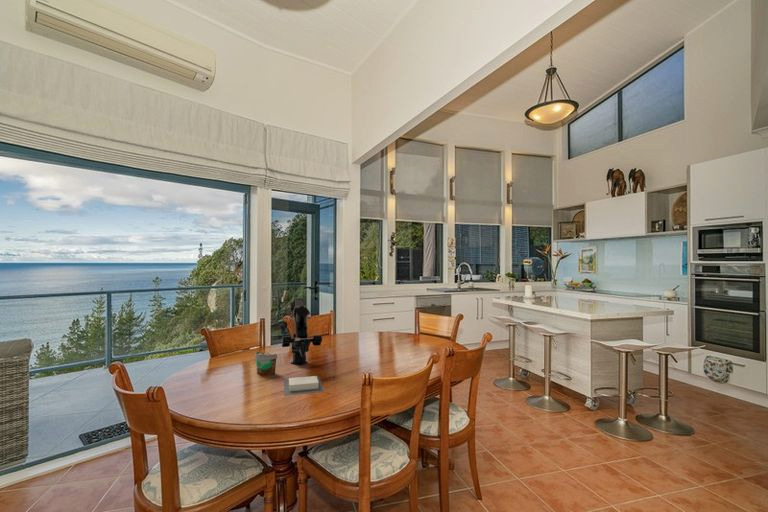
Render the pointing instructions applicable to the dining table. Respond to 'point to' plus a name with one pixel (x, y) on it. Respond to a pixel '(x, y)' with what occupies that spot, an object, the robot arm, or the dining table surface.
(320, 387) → the mat
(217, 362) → the dining table surface
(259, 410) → the dining table surface
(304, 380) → the tile
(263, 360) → the food container
